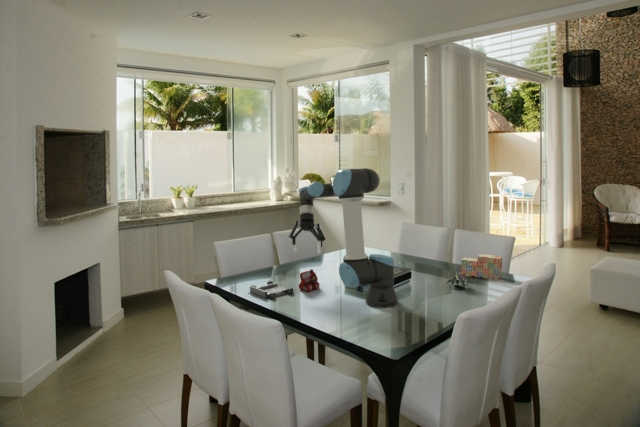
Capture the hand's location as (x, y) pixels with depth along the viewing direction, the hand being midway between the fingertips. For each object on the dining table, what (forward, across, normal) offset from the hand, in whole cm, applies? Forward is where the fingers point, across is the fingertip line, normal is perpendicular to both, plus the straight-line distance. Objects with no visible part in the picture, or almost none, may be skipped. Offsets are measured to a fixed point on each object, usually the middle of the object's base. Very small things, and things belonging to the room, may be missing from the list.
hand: (307, 252), depth 247 cm
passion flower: (+21, -74, +27) cm, 81 cm away
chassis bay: (+20, +15, -13) cm, 28 cm away
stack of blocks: (+11, -99, +18) cm, 102 cm away
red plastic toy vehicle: (+18, -4, -8) cm, 20 cm away
